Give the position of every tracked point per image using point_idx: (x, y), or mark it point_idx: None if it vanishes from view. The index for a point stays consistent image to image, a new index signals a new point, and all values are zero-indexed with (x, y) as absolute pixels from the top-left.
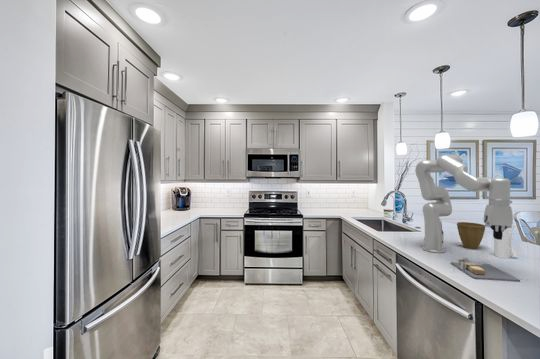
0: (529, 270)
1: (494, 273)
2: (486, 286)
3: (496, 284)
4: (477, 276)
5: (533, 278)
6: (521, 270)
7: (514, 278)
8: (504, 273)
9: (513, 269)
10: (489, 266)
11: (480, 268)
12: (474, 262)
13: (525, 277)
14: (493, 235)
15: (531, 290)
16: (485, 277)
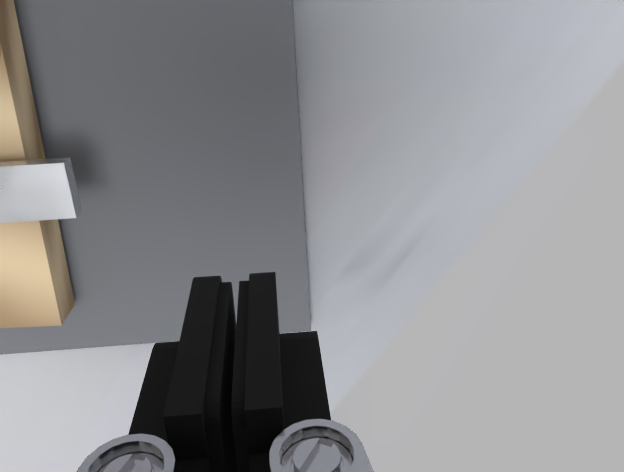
0: (620, 2)
1: (183, 230)
2: (20, 455)
3: (105, 408)
4: (2, 337)
5: (471, 227)
6: (536, 22)
7: (287, 310)
8: (276, 209)
9: (476, 5)
10: (241, 15)
11: (38, 279)
12: (4, 181)
13: (422, 218)
14: (153, 364)
15: None
16: (61, 342)
